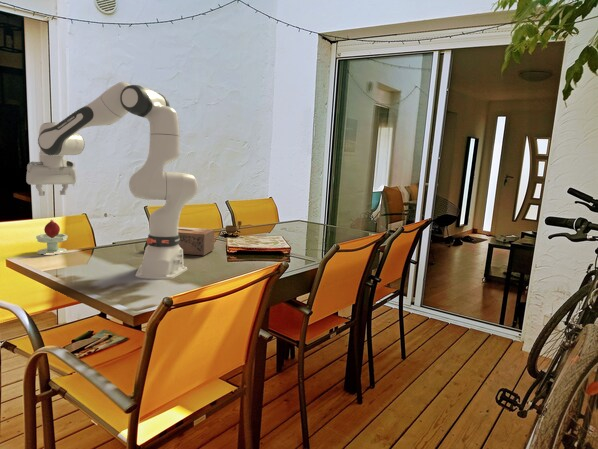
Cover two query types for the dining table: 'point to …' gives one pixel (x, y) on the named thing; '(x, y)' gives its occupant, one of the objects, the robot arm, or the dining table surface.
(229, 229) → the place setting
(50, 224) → the onion
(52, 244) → the stand
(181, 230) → the tissue box cover
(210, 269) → the dining table surface
